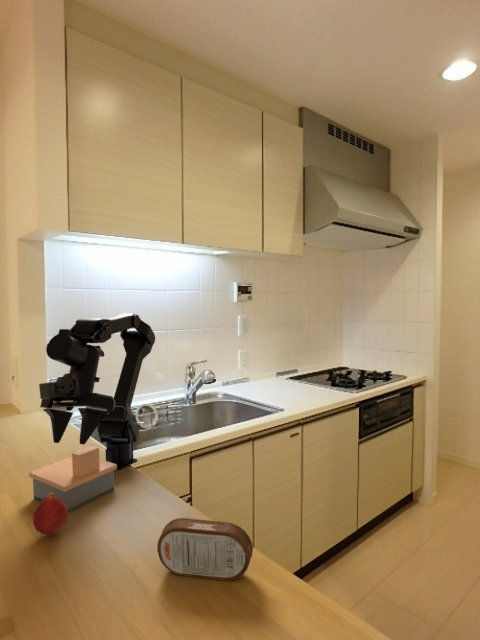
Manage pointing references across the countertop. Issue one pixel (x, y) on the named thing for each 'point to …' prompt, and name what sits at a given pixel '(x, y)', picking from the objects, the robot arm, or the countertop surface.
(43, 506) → the onion
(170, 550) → the tin
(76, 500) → the tub
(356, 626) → the countertop surface
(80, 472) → the lid
